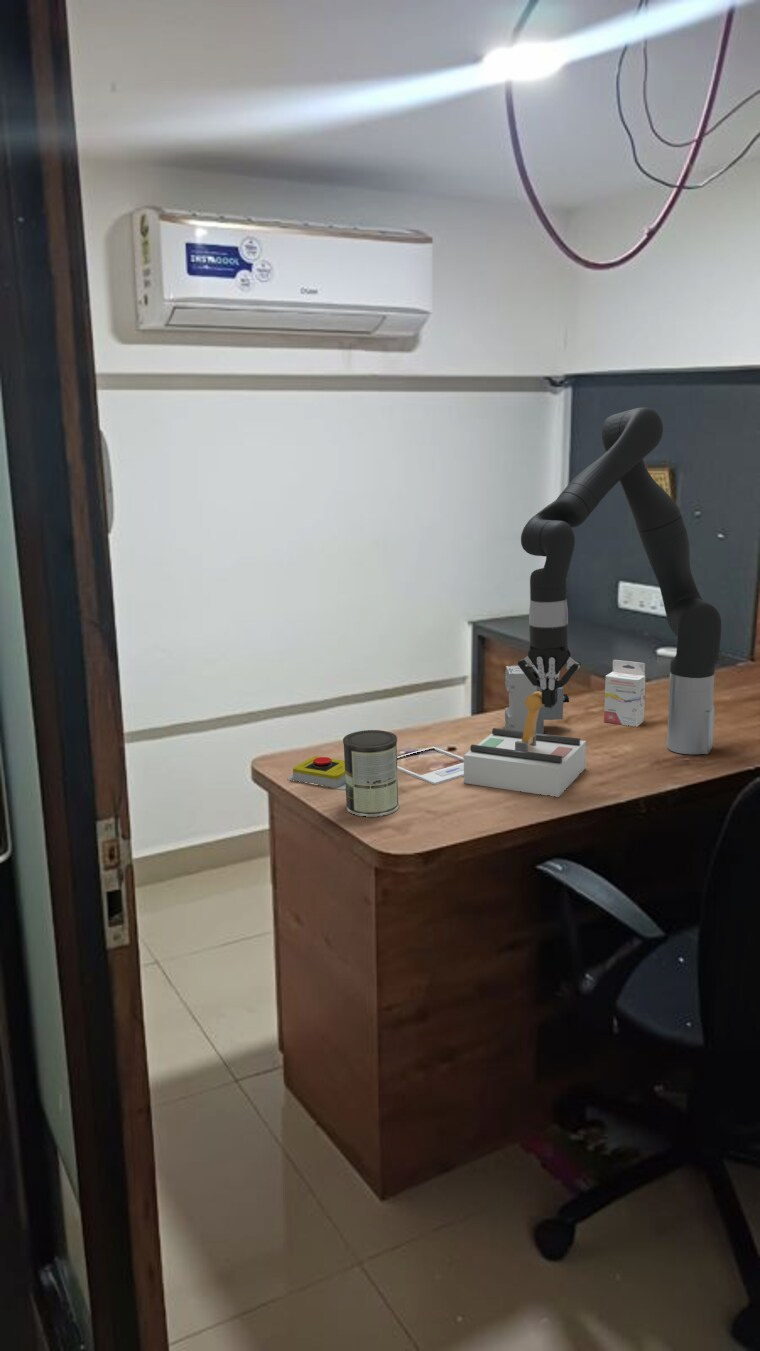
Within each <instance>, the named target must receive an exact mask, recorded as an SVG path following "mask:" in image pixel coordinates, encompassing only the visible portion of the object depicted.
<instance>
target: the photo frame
mask: <svg viewBox="0 0 760 1351" xmlns="http://www.w3.org/2000/svg"><path fill="white" fill-rule="evenodd" d="M432 748H434V749H432ZM429 749H430V750H435V749H436V750H435V752H437V751H438V752H437V753H440V754H442V753H443V755H445V756H447V757H448V756H449V758H450V757H451V758H453V759H455V760H459V761H461V762H460V763H457V764H454V765H450V766H448V767H444V768H441V769H437V770H434V771H430V772H427V773H423V774H419V773H416V772H414V771H411V770H408V769H406V768H403V767H401V766H398V765H397V769H398V770H397V771H399V770H400V771H399V772H402V771H403V772H402V773H404V772H405V773H404V774H406V773H407V775H409V774H410V775H409V776H411V775H412V777H414V778H416V779H419V780H420V781H424V782H425V783H428V784H431V785H433V786H437V785H440V784H443V783H447V782H449V781H453V780H456V779H460V778H462V777H463V778H464V756H463V757H462V756H460V755H457V754H455V753H453V752H449V751H446V750H444V749H441V748H438V747H435V746H430V747H427V748H423V749H419V750H416V751H413V752H409V753H405V754H402V755H399V756H398V755H397V758H398V759H401V758H400V757H402V758H404V757H403V756H405V757H407V756H406V755H409V756H411V755H410V754H413V753H416V754H418V753H417V752H420V753H422V752H421V751H423V752H426V751H425V750H427V751H430V750H429ZM413 755H414V754H413Z"/></svg>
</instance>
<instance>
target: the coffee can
mask: <svg viewBox="0 0 760 1351" xmlns="http://www.w3.org/2000/svg"><path fill="white" fill-rule="evenodd" d="M342 743H343V754H344V761H345V781H346V790H345V797H346V798H345V799H346V806H345V807H346V811H347V812H348V813H349V812H350V813H349V814H351V813H352V814H351V815H353V814H355V815H354V816H356V815H359V816H358V817H361V816H366V817H365V818H376V817H377V816H380V817H384V816H383V815H385V816H388V815H391V814H393V813H395V812H396V811H397V810H398V809H399V807H400V804H399V783H398V778H399V777H398V770H397V766H398V759H397V757H398V747H397V743H398V736H397V735H396V734H395V733H392V732H390V731H386V730H380V729H379V730H378V729H368V730H365V729H364V730H359V731H355V732H350V733H349V734H346V735H345V736H344V737H343V739H342ZM377 818H378V817H377Z"/></svg>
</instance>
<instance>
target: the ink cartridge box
mask: <svg viewBox="0 0 760 1351" xmlns="http://www.w3.org/2000/svg"><path fill="white" fill-rule="evenodd" d="M628 665H629V666H630V667H634V668H629V667H624V666H628ZM646 678H647V677H646V663H644V662H637V661H629V660H621V659H620V660H619V659H613V660H612V671H611V672H610V673H608V674H606V675H605V682H604V685H605V686H604V708H603V709H604V710H603V713H604V714H603V723H609V724H614V725H615V724H616V725H622V726H628V725H629V726H630V727H635V726H636V728H637V727H639V726H640V725H641V724H642V723H643V722H644V720H645V719H644V718H645V699H646V698H645V696H646V695H645V694H646V693H645V692H646Z"/></svg>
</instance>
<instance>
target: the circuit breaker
mask: <svg viewBox="0 0 760 1351" xmlns="http://www.w3.org/2000/svg"><path fill="white" fill-rule="evenodd" d="M532 667H533V668H534V670H535V671H536V672H537V674H538V670H537V669H536V667H535V666H534V664H532ZM538 675H539V674H538ZM504 680H505V681H504V684H505V689H506V692H507V693H508V706H507V707H505V708H504V715H505V716H504V720H505V723H504V724H505V725H504V727H505V729H506V730H514V731H522V732H524V728H525V723H526V718H527V714H528V708H527V707H526V705H525V700H526V698H527V697H529V696H530V695H531V694H533V693H534V692H536V691H540V692H542V689H541V688H540V687H538V686H534V685H533V684H532V683H531V682H530V680H529V679H528V678H527V676H526V675H525V674H524V672H523V671H522V670H521V668H520V667H519V666H518V665H506V667H505V673H504ZM557 700H558V701H557V703H556V704H555V705H554V707H552V708H548V707H545V704H544V705H543V706H542V707H540V709H539V714H538V718H537V723H536V728H535V732H534V733H539V734H544V732H545V730H544V729H545V728H544V725H545V723H544V721H551V720H554V721H556V720H563V719H564V704H565V703H570V698H569V695H568V694H565V693H564V686H563V687H561V688H558V689H557Z"/></svg>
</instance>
